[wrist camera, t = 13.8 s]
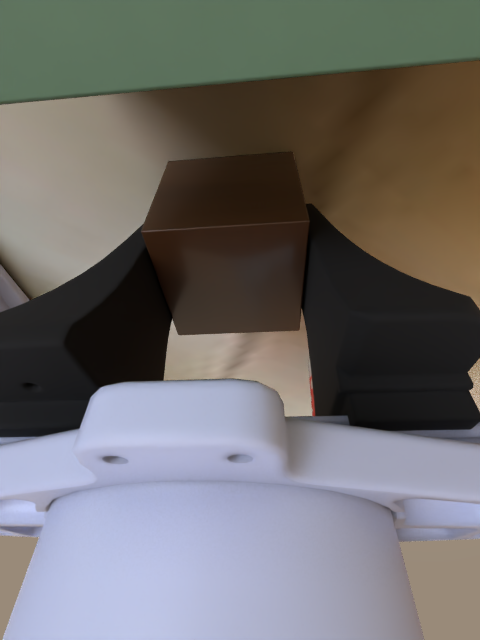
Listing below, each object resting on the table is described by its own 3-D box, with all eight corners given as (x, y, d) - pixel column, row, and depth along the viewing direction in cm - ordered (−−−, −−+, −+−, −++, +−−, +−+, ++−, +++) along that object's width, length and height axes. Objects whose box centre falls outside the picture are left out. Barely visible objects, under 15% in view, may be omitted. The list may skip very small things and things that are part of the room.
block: (288, 255, 14) (299, 330, 11) (192, 260, 14) (178, 335, 12) (293, 151, 11) (310, 220, 8) (167, 160, 11) (139, 231, 8)
